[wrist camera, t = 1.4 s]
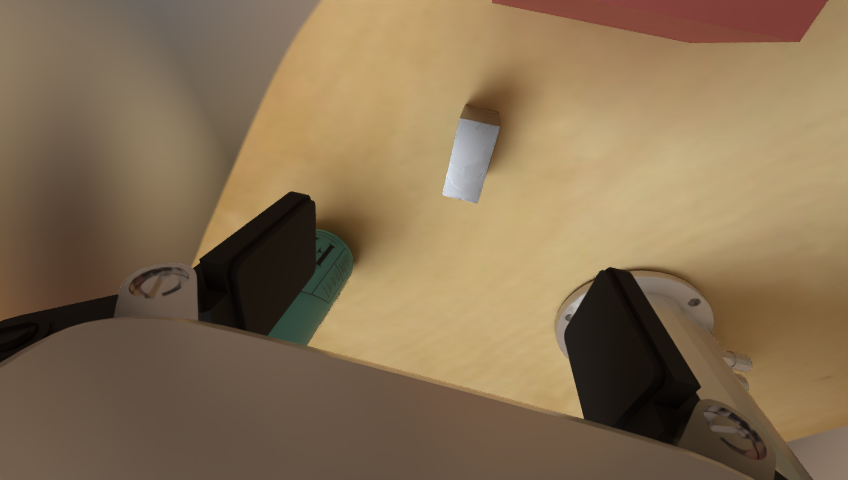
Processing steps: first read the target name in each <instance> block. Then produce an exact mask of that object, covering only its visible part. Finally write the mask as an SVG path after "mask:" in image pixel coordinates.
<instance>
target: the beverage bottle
mask: <svg viewBox="0 0 848 480" xmlns="http://www.w3.org/2000/svg"><path fill="white" fill-rule="evenodd" d="M352 270H353V256H352V253H351V251H350V249H349V248H348V246H347V245H346V244H345V242H344V241H343V240H342V239H340V238H339V237H338V236H336V235H335V234H333V233H331V232H329V231H326V230H322V229H316V269H315V272H314V275H313V276H312V278H311V279H310V280H309V282H308V283H307V284H306V286H305V287H304V288H303V289H302V291H301V292H300V293H299V295H298V296H297V297H296V299H295V300H294V301H293V303H292V304H291V305H290V307H289V308H288V309H287V311H286V312H285V313H284V315H283V316H282V317H281V319H280V320H279V321H278V322H277V324H276V325H275V326H274V328H273V329H272V330H271V332H270V333H269V334H268V336H269V337H274V338H278V339H282V340H286V341H290V342H294V343H298V344H302V345H305V346H307V345H308V343H309V342H310V340H311V338H312V337H313V335H314V333H315V332H316V330H317V328H318V327H319V325H320V324H321V322H322V321H324V320H323V319H324V318H325V317H326V315H327V313H328V311H330V308H331V306H332V305H333V303H334V302H335V300H336V299H337V297H338V295H340V293H341V291H342V289H343V288H344V285H345V284H347V283H348V282H347V280H348V279H349V277H350V275H351V273H352ZM346 282H347V283H346ZM328 314H329V313H328Z"/></svg>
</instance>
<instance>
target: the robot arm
mask: <svg viewBox="0 0 848 480" xmlns="http://www.w3.org/2000/svg"><path fill="white" fill-rule="evenodd" d="M199 260H200V263H199V264H198V265H197V266H195V267H194V268H191V267H190V266H187V265H185V264H179V263H164V264H158V265H153V266H149V267H147V268H144V269H141V270H139V271H137V272H135V273H134V274H132V275H131V276H129V277H128V278H127V279H126V280H125V281H124V282H123V283H122V285H121V288H120V290H119V294H117V295H112V296H108V297H103V298H99V299H95V300H89V301H85V302H80V303H75V304H71V305H66V306H62V307H58V308H52V309H48V310H43V311H39V312H35V313H29V314H25V315H20V316H17V317H13V318H9V319H6V320H3V321H1V322H0V480H813V479H812V477H811V476H810V475H809V473H808V472H807V471H806V469H805V468H804V467H803V465H802V464H801V463H800V461H799V460H798V458H797V457H796V456H795V454H794V453H793V452H792V450H791V449H790V448H789V446H788V445H787V444H786V442H785V441H784V440H783V438H782V437H781V436H780V434H779V433H778V431H777V430H776V429H775V427H774V426H773V425H772V423H771V422H770V421H769V419H768V418H767V417H766V415H765V414H764V413H763V411H762V410H761V409H760V407H759V406H758V405H757V403H756V402H755V400H754V399H753V398H752V396H751V395H750V394H749V392H748V390H749V385H748V382H747V380H746V378H745V377H743V376H742V375H740V374H736V373H734V372H733V371H732V369H735V370H738V371H743V372H747V371H750V369H751V368H752V361H751V359H750V358H749V357H748V356H746V355H743V354H739V353H735V352H730V351H724V349H723V348H722V347H721V345H720V344H719V343H718V342H717V340H716V339H715V338H714V336H713V335H712V332H713V329H714V315H713V311H712V308H711V306H710V305H709V303H708V301H707V300H706V299H705V297H704V296H703V295H702V294H701V293H700V292H699V291H698V290H697V288H695V287H694V286H692V285H691V284H690V283H688V282H687V281H685V280H683V279H680V278H678V277H676V276H673V275H670V274H665V273H661V272H655V271H643V270H642V271H624V270H620V269H616V268H612V267H609V268H607V269H606V270H601V271H600V272H599V273H598V275H597V276H596V278H595V280H594V281H592V282H590V283H588V284H586V285H584V286H582V287H581V288H579V289H578V290H577V291H575V292H574V293H573V294H572V295H571V296H570V297H569V298H568V299H567V300H566V301H565V302H564V303H563V305H562V306H561V308H560V309H559V311H558V314H557V317H556V320H555V333H556V338H557V342H558V345H559V347H560V349H561V351H562V352H563V354H564V355H565V356H566V357H567V358H568V359H569V361H570V364H571V368H572V372H573V376H574V380H575V384H576V388H577V392H578V396H579V400H580V404H581V408H582V412H583V416H584V419H581V418H578V417H574V416H570V415H566V414H563V413H559V412H555V411H552V410H548V409H544V408H540V407H537V406H533V405H529V404H526V403H522V402H518V401H515V400H511V399H507V398H503V397H500V396H496V395H492V394H489V393H485V392H481V391H477V390H474V389H470V388H466V387H462V386H458V385H455V384H451V383H447V382H443V381H440V380H436V379H432V378H428V377H424V376H421V375H417V374H413V373H409V372H406V371H402V370H398V369H394V368H390V367H387V366H383V365H379V364H375V363H371V362H367V361H363V360H360V359H356V358H352V357H348V356H344V355H340V354H336V353H333V352H329V351H325V350H321V349H317V348H313V347H309V346H305V345H302V344H298V343H294V342H290V341H286V340H282V339H278V338H274V337H269V336H268V334H269V333H270V332H271V330H272V329H273V328H274V326H275V325H276V324H277V322H278V321H279V320H280V319H281V317H282V316H283V315H284V313H285V312H286V311H287V309H288V308H289V307H290V305H291V304H292V303H293V301H294V300H295V299H296V297H297V296H298V295H299V293H300V292H301V291H302V289H303V288H304V287H305V286H306V284H307V283H308V282H309V280H310V279H311V278H312V276H313V275H314V272H315V269H316V206H315V202H314V201H312V200H311V198H310V196H309V195H305V194H301V193H297V192H293V191H291V192H289V193H288V194H286V195H285V196H284V197H282V198H281V199H279V200H278V201H277V202H275V203H274V204H273V205H271V206H270V207H269V208H267V209H266V210H265V211H263V212H262V213H261V214H259V215H258V216H257V217H255V218H254V219H253V220H251V221H250V222H249V223H247V224H246V225H245V226H243V227H242V228H241V229H239V230H238V231H237V232H235V233H234V234H233V235H231V236H230V237H229V238H227V239H226V240H225V241H223V242H222V243H220V244H219V245H218V246H216V247H215V248H214V249H212V250H211V251H210V252H208V253H207V254H206V255H204V256H203V257H202V258H200V259H199Z"/></svg>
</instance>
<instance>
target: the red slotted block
mask: <svg viewBox="0 0 848 480" xmlns="http://www.w3.org/2000/svg"><path fill="white" fill-rule="evenodd" d="M827 1H828V0H492V3H496V4H501V5H506V6H511V7H516V8H521V9H526V10H531V11H536V12H541V13H546V14H551V15H556V16H561V17H566V18H571V19H575V20H580V21H585V22H590V23H595V24H600V25H605V26H610V27H615V28H620V29H625V30H630V31H635V32H640V33H645V34H650V35H654V36H659V37H664V38H669V39H674V40H679V41H684V42H689V43H729V42H800V40H801V39H802V37H803V36H804V35H805V33H806V32H807V30H808V29H809V27H810V26H811V24H812V23H813V21H814V20H815V18H816V17H817V16H818V14H819V13H820V11H821V10H822V8H823V7H824V5H825V4H826V2H827Z"/></svg>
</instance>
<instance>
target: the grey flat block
mask: <svg viewBox="0 0 848 480" xmlns="http://www.w3.org/2000/svg"><path fill="white" fill-rule="evenodd" d="M499 129H500V122H499V113H498V112H496V111H492V110H487V109H483V108H478V107H474V106H469V105H465V107H464V109H463V111H462V114H461V116H460V119H459V123H458V128H457V132H456V137H455V141H454V145H453V150H452V154H451V159H450V163H449V167H448V172H447V176H446V181H445V185H444V190H443V194H442V195H444V196H448V197H452V198H456V199H461V200H465V201H469V202H473V203H477V204H478V200H479V197H480V193H481V190H482V187H483V183H484V180H485V176H486V173H487V170H488V166H489V163H490V160H491V156H492V153H493V149H494V146H495V143H496V139H497V136H498V132H499Z"/></svg>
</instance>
